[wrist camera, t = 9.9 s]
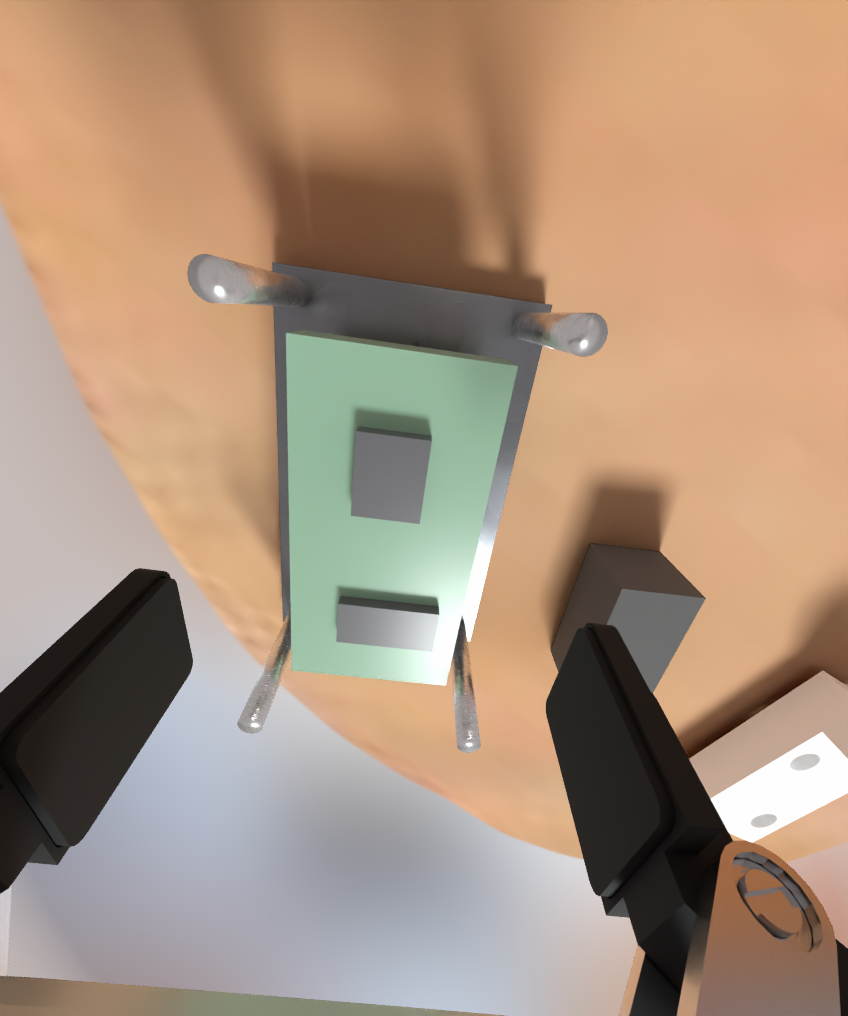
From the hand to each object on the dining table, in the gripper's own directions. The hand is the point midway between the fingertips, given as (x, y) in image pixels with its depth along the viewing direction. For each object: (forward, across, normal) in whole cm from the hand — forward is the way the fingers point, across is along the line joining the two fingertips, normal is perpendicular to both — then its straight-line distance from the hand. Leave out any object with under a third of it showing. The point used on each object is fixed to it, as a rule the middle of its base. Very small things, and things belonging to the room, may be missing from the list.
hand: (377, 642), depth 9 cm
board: (+8, 0, +1) cm, 8 cm away
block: (+12, -12, +8) cm, 19 cm away
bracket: (+12, -28, +18) cm, 35 cm away
